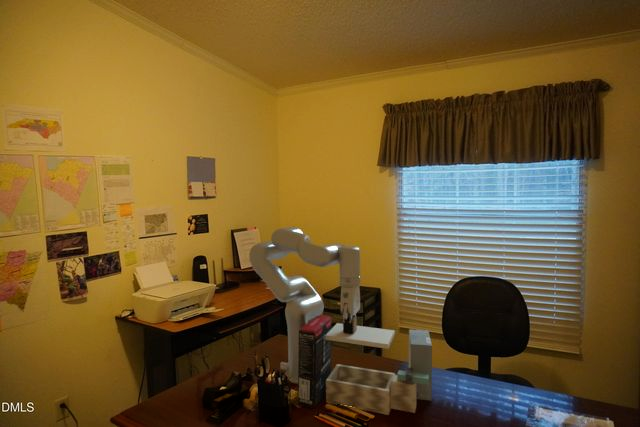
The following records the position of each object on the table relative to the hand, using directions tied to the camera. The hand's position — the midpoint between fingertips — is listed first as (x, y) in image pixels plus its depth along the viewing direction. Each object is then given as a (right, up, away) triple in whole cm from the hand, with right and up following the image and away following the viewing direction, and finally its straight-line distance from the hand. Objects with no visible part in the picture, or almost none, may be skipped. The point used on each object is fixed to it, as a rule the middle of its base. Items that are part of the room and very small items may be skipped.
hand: (349, 330), depth 131 cm
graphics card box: (-12, -24, +2) cm, 27 cm away
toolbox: (+8, -24, -2) cm, 25 cm away
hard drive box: (+26, -24, +5) cm, 36 cm away
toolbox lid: (+4, -2, -1) cm, 4 cm away
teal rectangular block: (+21, -14, -8) cm, 26 cm away
